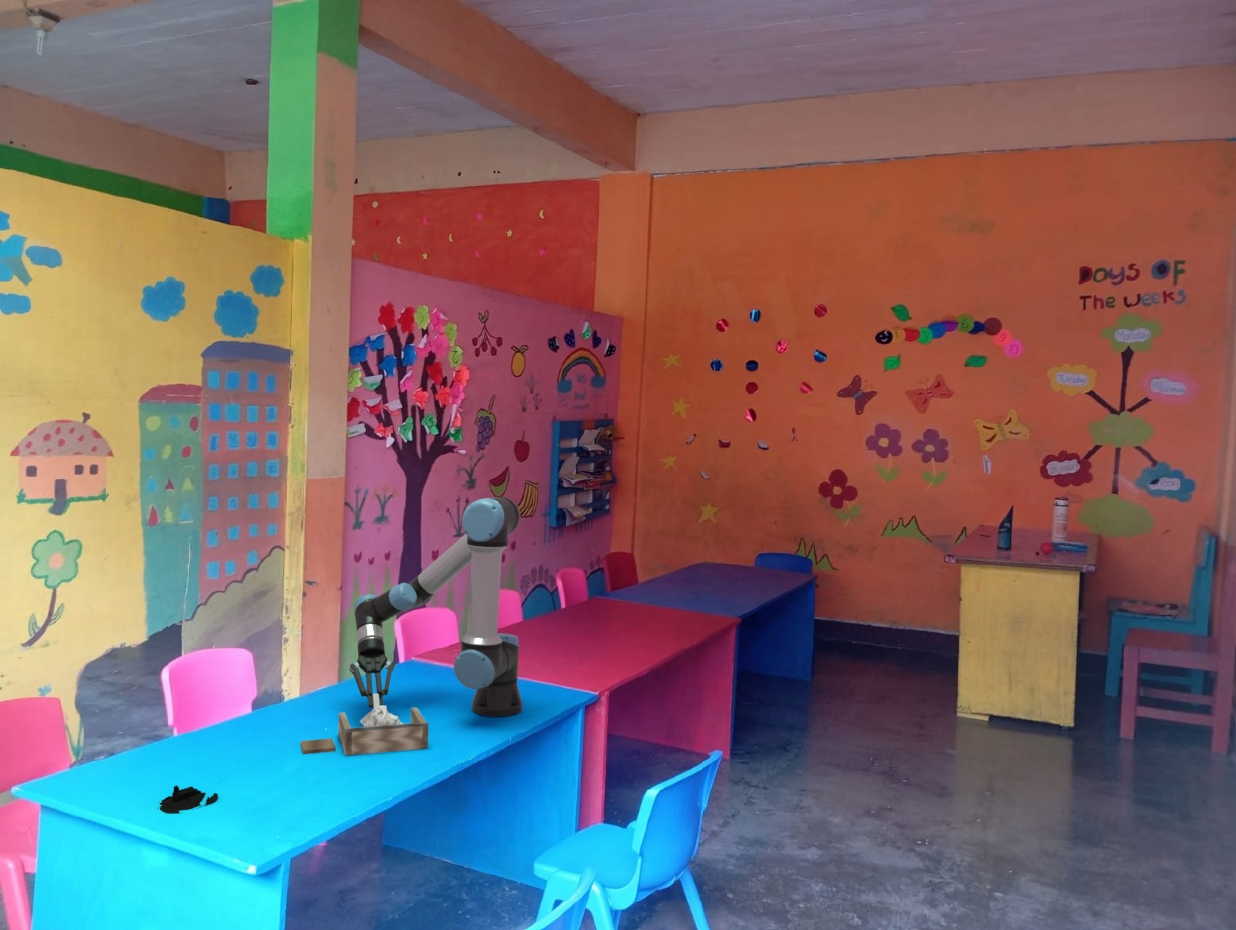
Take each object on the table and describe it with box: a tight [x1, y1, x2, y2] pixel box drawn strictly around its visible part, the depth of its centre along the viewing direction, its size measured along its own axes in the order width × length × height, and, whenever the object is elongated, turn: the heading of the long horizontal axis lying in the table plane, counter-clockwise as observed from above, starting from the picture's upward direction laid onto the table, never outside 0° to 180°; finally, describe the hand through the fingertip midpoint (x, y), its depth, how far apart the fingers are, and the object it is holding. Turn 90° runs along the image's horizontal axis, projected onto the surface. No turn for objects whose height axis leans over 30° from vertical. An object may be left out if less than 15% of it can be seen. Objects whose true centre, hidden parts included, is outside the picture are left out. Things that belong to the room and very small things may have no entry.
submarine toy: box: [157, 784, 219, 815], centre depth 218 cm, size 12×10×5 cm
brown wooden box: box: [337, 707, 429, 756], centre depth 265 cm, size 21×18×7 cm
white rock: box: [359, 705, 404, 727], centre depth 267 cm, size 12×9×10 cm
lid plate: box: [300, 738, 337, 755], centre depth 258 cm, size 8×8×2 cm
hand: (376, 717), depth 273 cm, fingers closed
